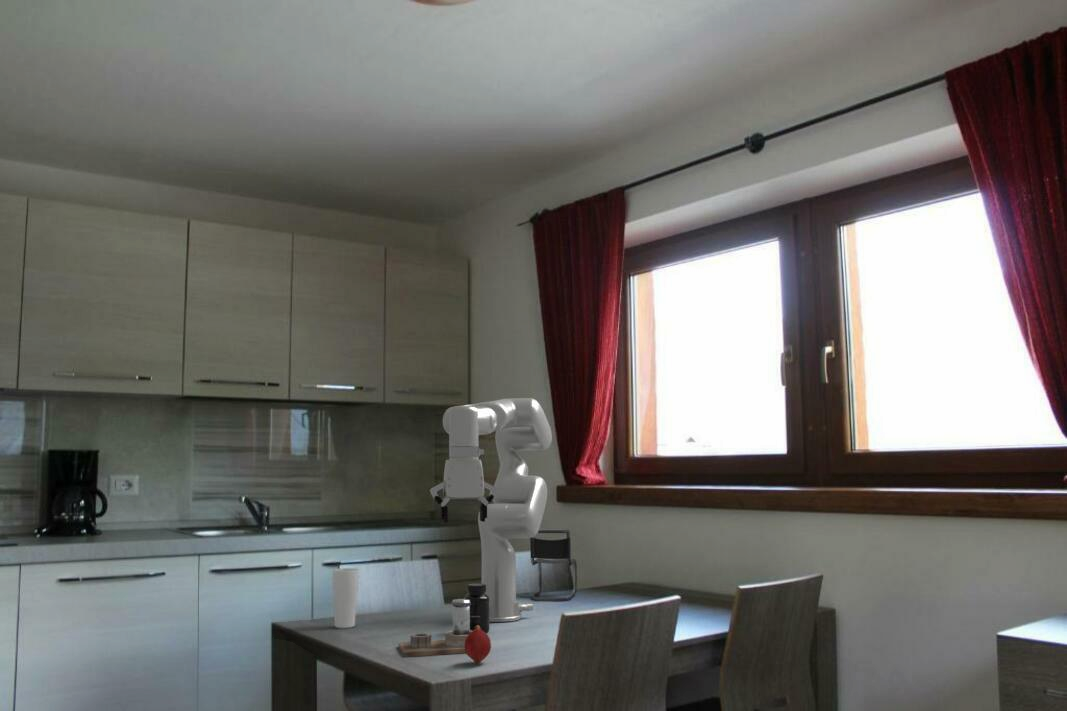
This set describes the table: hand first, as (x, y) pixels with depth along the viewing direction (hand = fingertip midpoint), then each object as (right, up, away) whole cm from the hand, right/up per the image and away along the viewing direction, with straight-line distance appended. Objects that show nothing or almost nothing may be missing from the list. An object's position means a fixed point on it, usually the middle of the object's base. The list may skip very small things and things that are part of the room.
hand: (463, 521), depth 237 cm
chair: (+24, -36, +62) cm, 75 cm away
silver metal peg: (+1, -25, -18) cm, 31 cm away
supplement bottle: (+3, -29, +2) cm, 29 cm away
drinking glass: (-33, -30, +11) cm, 46 cm away
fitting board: (-4, -26, -20) cm, 33 cm away
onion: (+6, -25, -35) cm, 43 cm away
